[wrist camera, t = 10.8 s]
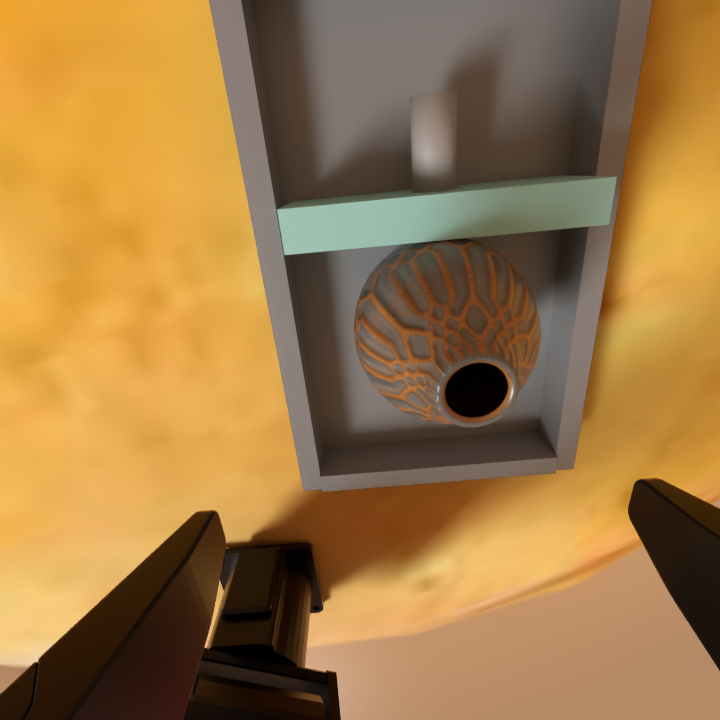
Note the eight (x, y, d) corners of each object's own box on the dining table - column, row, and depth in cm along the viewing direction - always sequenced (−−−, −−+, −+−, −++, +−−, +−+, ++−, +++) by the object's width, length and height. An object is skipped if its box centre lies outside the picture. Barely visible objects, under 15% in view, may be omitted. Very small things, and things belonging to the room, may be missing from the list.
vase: (511, 226, 18) (637, 273, 10) (486, 367, 21) (569, 488, 13) (354, 223, 18) (357, 267, 10) (352, 365, 21) (352, 487, 13)
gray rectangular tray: (549, 436, 24) (603, 510, 18) (308, 456, 24) (297, 534, 19) (617, -82, 14) (764, -221, 9) (220, -38, 15) (150, -149, 9)
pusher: (556, 213, 18) (609, 224, 14) (298, 237, 18) (284, 255, 14) (569, 89, 16) (634, 66, 12) (280, 119, 16) (259, 104, 12)
